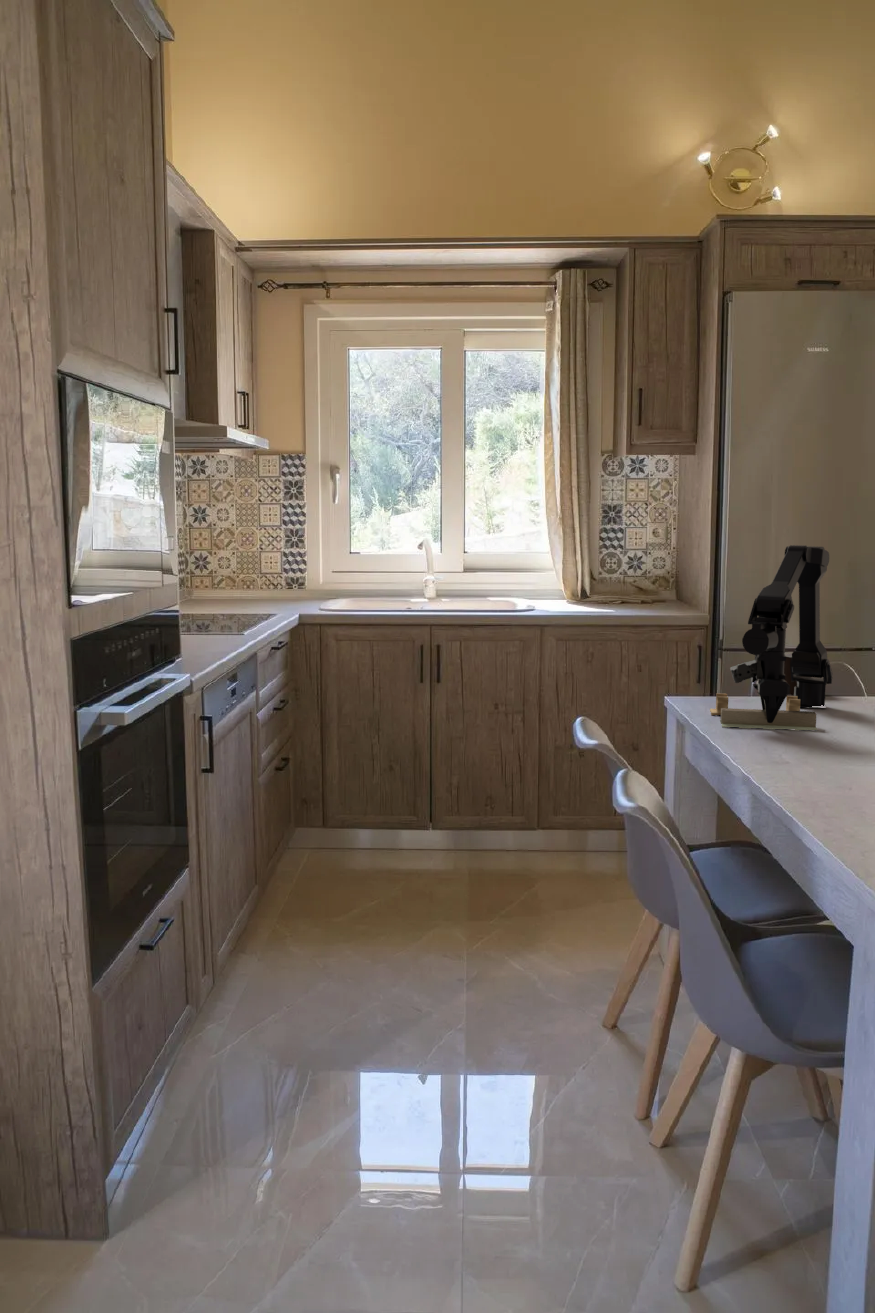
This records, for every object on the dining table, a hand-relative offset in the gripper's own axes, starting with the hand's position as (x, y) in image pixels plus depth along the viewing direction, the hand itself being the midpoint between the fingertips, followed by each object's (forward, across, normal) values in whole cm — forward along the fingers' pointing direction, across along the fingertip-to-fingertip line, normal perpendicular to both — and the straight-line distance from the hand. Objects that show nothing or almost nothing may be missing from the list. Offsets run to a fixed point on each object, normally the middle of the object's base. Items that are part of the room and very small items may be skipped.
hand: (768, 719), depth 223 cm
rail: (+1, 0, 0) cm, 1 cm away
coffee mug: (+2, -49, +13) cm, 51 cm away
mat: (+1, 0, 0) cm, 1 cm away
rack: (+1, -13, -1) cm, 13 cm away
